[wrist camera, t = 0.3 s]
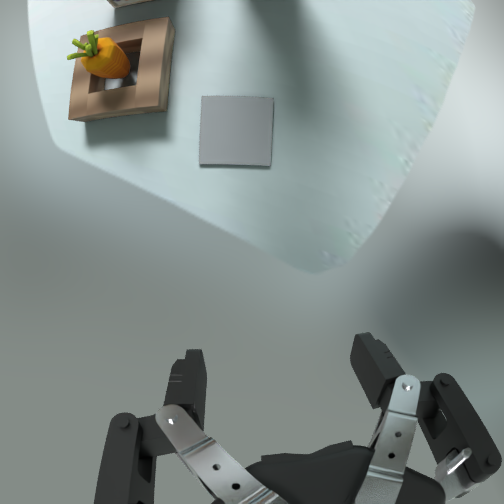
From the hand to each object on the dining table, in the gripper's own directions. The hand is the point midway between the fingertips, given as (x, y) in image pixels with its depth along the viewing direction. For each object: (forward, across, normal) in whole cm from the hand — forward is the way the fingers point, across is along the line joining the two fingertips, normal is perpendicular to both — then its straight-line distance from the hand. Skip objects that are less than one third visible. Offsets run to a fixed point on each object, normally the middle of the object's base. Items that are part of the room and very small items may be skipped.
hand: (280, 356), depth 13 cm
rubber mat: (+29, +1, -13) cm, 32 cm away
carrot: (+29, +17, -24) cm, 42 cm away
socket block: (+29, +17, -24) cm, 42 cm away
